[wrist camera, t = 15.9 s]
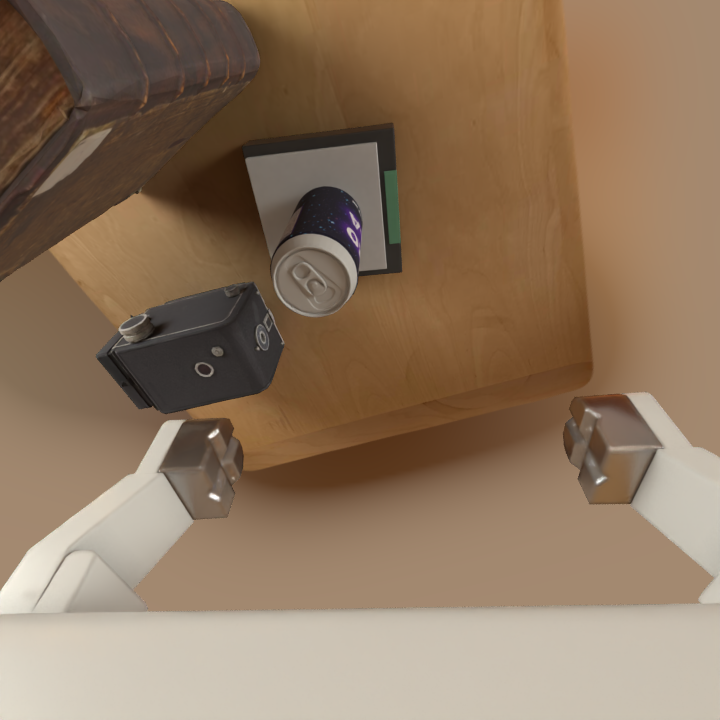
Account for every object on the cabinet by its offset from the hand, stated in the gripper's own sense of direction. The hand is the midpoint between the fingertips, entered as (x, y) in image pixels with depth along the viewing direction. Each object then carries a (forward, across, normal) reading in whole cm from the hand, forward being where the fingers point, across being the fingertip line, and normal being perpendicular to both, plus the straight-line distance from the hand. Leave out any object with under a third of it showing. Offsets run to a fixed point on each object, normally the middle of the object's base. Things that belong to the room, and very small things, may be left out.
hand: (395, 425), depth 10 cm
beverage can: (+28, +5, +4) cm, 29 cm away
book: (+31, +16, -5) cm, 35 cm away
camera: (+31, +19, +14) cm, 39 cm away
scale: (+31, +5, +4) cm, 32 cm away
